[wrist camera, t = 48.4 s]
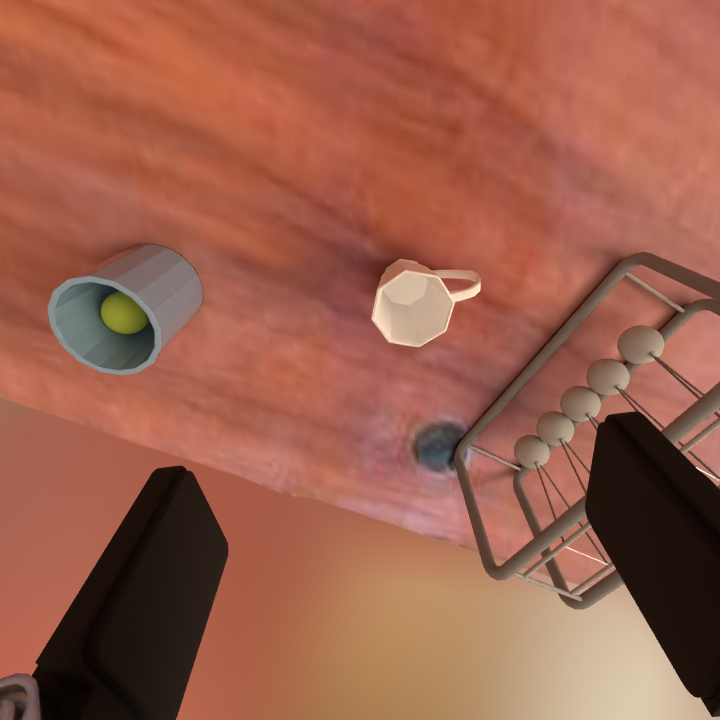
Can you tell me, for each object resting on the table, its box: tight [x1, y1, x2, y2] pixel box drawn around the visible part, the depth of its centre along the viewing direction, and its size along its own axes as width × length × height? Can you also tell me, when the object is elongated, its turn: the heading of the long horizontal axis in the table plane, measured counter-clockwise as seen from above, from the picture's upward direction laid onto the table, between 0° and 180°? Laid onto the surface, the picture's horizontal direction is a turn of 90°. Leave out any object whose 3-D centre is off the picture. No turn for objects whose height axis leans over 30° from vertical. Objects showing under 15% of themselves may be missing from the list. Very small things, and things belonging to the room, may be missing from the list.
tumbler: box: [47, 244, 203, 375], centre depth 36 cm, size 9×9×10 cm
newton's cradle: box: [454, 252, 720, 609], centre depth 39 cm, size 30×10×18 cm, turn 151°
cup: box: [371, 259, 481, 347], centre depth 37 cm, size 7×10×8 cm
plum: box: [101, 291, 149, 334], centre depth 38 cm, size 4×4×4 cm
